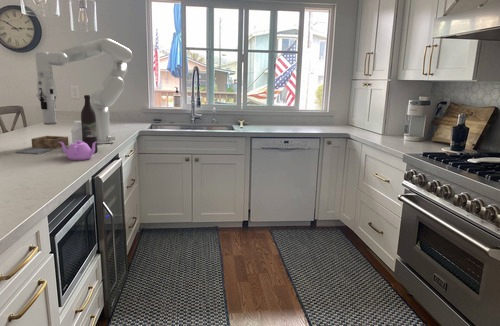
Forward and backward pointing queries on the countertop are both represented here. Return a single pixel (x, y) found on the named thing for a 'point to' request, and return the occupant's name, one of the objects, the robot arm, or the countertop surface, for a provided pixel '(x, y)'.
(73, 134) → the jar
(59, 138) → the collar
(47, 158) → the countertop surface
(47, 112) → the travel mug
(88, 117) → the wine bottle
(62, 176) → the countertop surface
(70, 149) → the teapot
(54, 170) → the countertop surface
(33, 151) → the mat
